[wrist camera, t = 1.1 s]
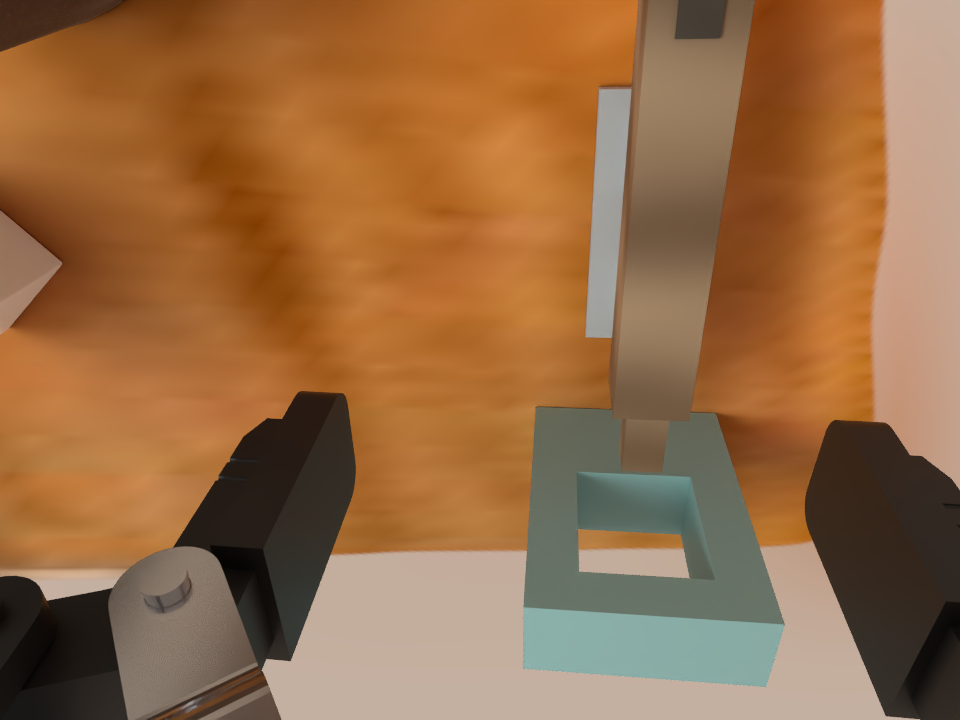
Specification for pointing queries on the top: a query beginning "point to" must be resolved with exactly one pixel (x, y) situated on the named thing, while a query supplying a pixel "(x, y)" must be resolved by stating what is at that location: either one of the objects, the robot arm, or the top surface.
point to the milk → (21, 270)
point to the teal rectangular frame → (639, 599)
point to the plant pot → (45, 17)
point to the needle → (672, 211)
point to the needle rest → (607, 207)
